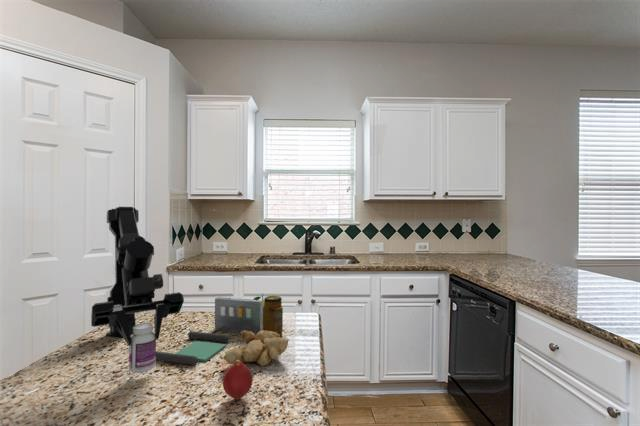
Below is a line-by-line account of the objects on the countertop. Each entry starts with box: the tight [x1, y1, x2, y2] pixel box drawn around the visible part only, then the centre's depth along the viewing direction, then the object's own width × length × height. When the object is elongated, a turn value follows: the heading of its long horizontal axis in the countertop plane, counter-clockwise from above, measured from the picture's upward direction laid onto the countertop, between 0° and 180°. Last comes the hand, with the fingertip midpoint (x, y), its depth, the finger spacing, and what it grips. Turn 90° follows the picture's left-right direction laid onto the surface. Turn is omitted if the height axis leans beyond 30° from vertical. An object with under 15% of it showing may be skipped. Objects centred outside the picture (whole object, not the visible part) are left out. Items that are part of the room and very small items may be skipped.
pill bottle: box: [128, 322, 157, 374], centre depth 73 cm, size 5×5×10 cm
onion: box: [222, 360, 253, 401], centre depth 65 cm, size 6×6×8 cm
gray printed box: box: [214, 296, 264, 335], centre depth 104 cm, size 16×3×10 cm, turn 76°
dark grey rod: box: [187, 330, 230, 343], centre depth 96 cm, size 13×2×2 cm, turn 76°
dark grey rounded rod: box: [156, 350, 199, 366], centre depth 82 cm, size 13×2×2 cm, turn 76°
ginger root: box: [222, 330, 289, 367], centre depth 84 cm, size 16×16×8 cm
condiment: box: [263, 295, 290, 341], centre depth 99 cm, size 7×8×12 cm
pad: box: [174, 340, 227, 363], centre depth 88 cm, size 10×10×1 cm
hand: (144, 341), depth 72 cm, fingers closed on pill bottle, 5 cm apart
